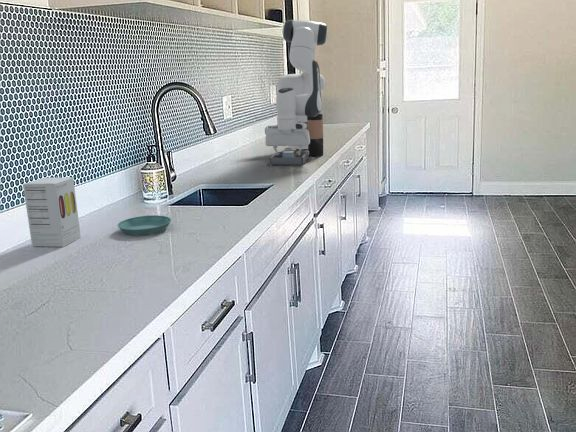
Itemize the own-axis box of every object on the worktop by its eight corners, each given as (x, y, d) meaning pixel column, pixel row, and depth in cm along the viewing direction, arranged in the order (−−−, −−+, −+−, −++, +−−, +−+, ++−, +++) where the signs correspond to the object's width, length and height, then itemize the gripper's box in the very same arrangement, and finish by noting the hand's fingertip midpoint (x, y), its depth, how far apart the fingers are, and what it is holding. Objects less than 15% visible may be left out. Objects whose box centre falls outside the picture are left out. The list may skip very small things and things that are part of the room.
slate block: (284, 161, 270) (284, 151, 269) (294, 160, 269) (293, 151, 268) (282, 162, 266) (282, 152, 265) (292, 162, 265) (292, 152, 264)
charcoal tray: (277, 159, 281) (277, 151, 280) (308, 158, 279) (308, 151, 278) (270, 165, 263) (269, 158, 262) (303, 165, 261) (302, 157, 260)
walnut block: (285, 160, 272) (285, 150, 271) (287, 158, 277) (286, 149, 276) (295, 159, 272) (294, 150, 271) (296, 158, 276) (296, 148, 275)
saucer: (112, 230, 167) (110, 221, 167) (161, 221, 175) (160, 212, 174) (127, 241, 155) (126, 232, 155) (179, 231, 163) (179, 222, 162)
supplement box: (63, 247, 152) (54, 183, 147) (31, 247, 153) (21, 183, 149) (82, 237, 161) (74, 176, 157) (51, 236, 162) (42, 176, 158)
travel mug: (324, 154, 291) (323, 113, 286) (323, 156, 283) (322, 114, 279) (308, 154, 292) (307, 114, 287) (307, 157, 284) (306, 115, 279)
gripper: (263, 126, 262) (264, 157, 266) (308, 125, 259) (309, 156, 262) (265, 124, 268) (267, 154, 272) (310, 123, 265) (311, 154, 268)
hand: (288, 155), depth 267 cm, fingers open, 8 cm apart
